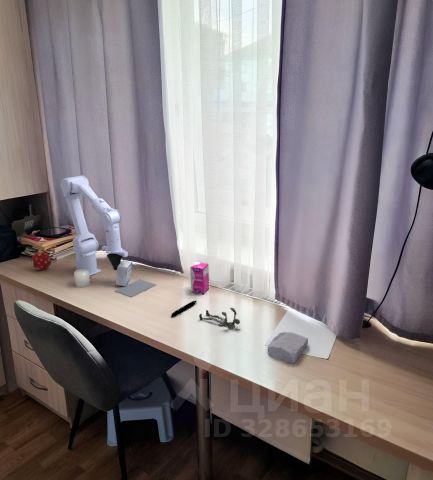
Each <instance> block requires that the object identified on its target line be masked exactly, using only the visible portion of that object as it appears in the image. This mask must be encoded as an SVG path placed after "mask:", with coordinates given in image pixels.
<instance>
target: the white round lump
mask: <svg viewBox="0 0 433 480" xmlns="http://www.w3.org/2000/svg"><path fill="white" fill-rule="evenodd" d="M73 275H74V276H73V277H74V282H75V283H74V284H75V287H77V288H86V287H88V286H90V285H91V278H90V276H89V270H88V269H79V270H77V269H76V270H75V271H73Z"/></svg>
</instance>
